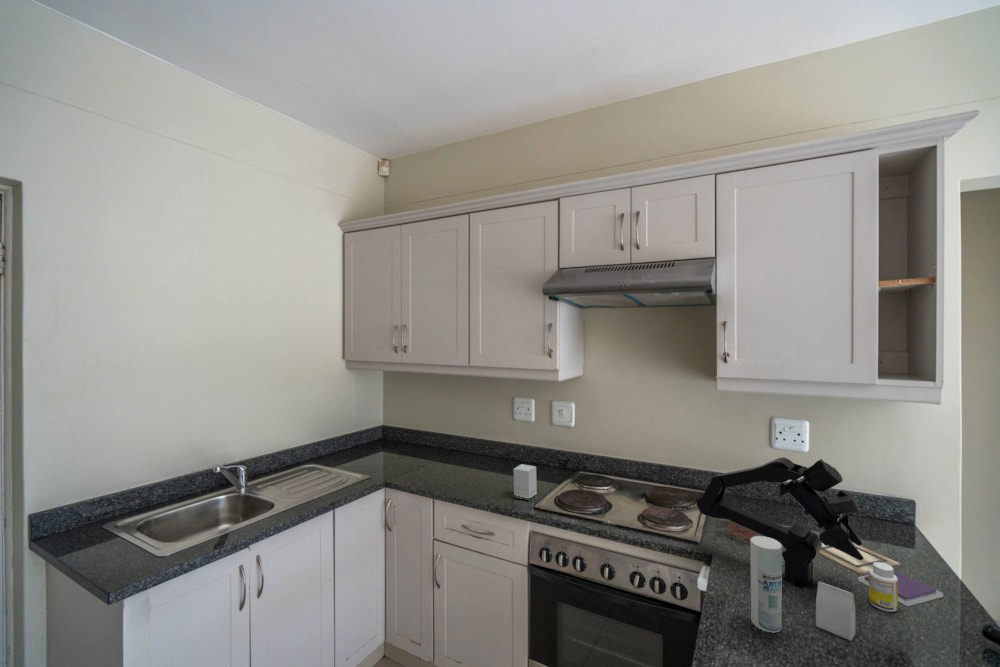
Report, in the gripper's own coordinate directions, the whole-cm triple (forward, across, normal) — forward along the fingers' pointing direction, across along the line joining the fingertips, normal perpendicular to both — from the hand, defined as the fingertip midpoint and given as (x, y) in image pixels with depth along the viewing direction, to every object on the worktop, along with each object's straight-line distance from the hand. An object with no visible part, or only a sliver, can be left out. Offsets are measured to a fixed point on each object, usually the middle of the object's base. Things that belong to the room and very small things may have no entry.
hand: (861, 551), depth 117 cm
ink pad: (+14, +11, +3) cm, 19 cm away
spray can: (-4, -26, +22) cm, 34 cm away
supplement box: (-68, +7, +87) cm, 111 cm away
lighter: (-13, +18, +30) cm, 37 cm away
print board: (+8, +25, +10) cm, 28 cm away
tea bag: (+5, -19, +12) cm, 23 cm away
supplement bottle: (+12, -1, +6) cm, 13 cm away
